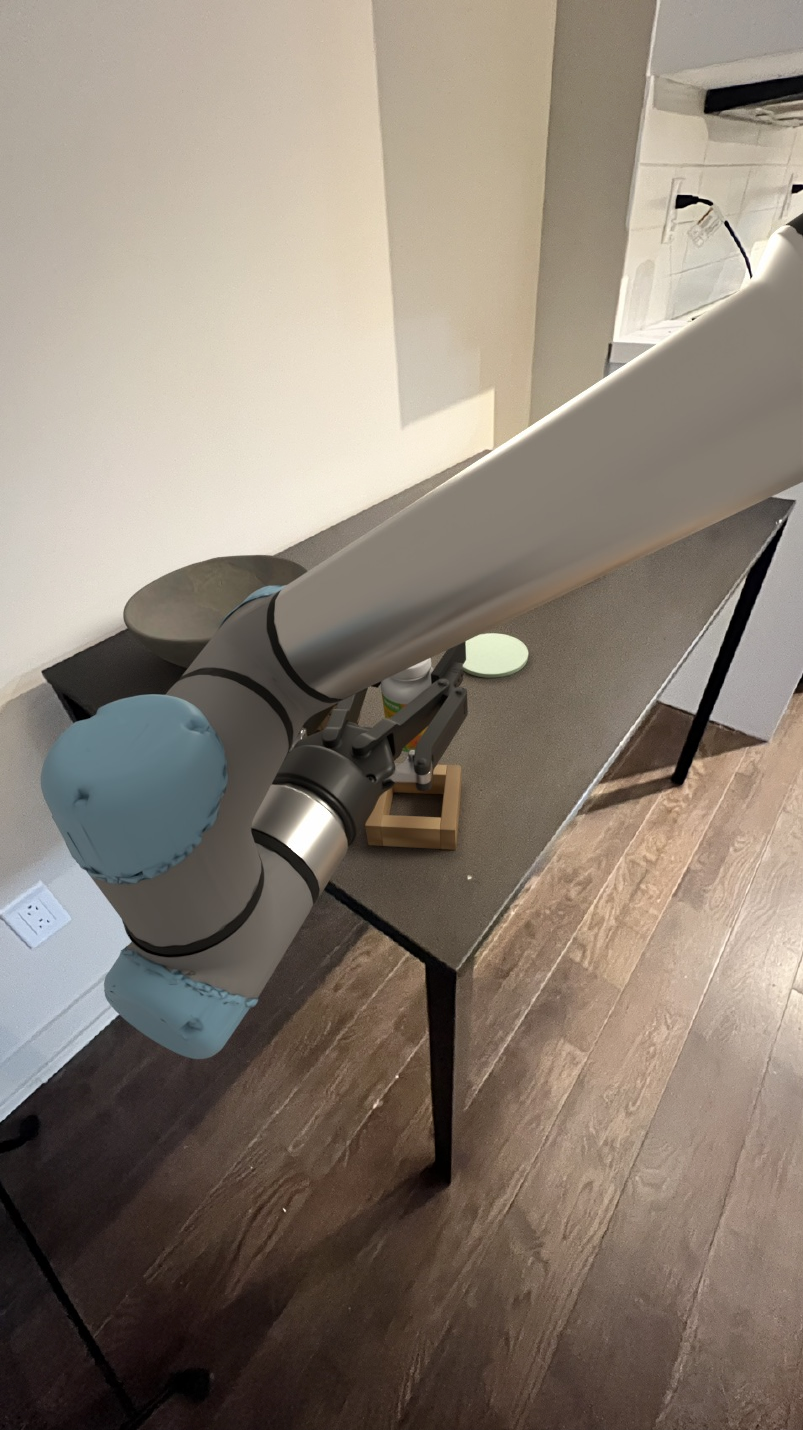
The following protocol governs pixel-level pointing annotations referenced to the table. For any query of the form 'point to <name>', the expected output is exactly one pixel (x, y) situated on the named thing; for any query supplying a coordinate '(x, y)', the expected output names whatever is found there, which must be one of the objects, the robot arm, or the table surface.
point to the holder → (419, 829)
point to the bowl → (199, 602)
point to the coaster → (494, 655)
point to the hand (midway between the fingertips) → (431, 642)
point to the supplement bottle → (405, 692)
